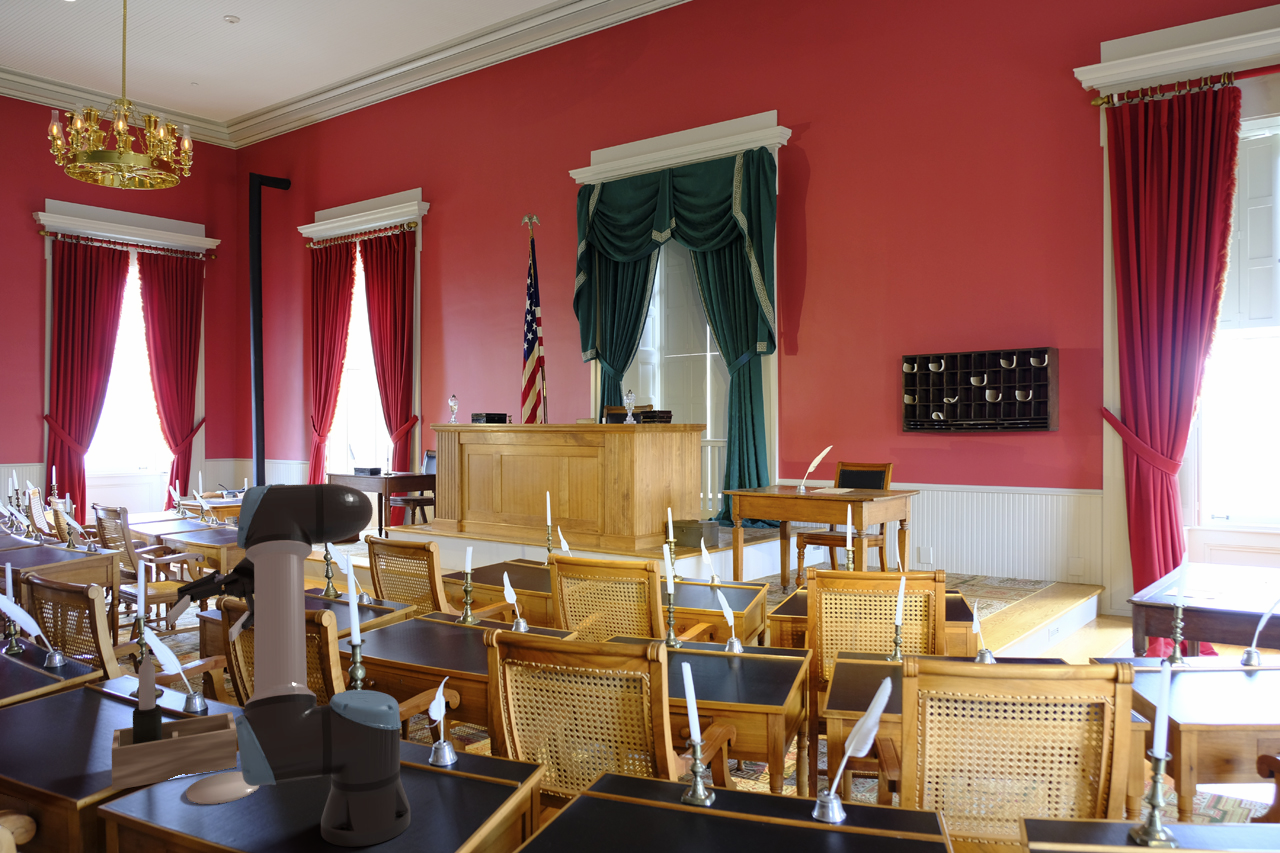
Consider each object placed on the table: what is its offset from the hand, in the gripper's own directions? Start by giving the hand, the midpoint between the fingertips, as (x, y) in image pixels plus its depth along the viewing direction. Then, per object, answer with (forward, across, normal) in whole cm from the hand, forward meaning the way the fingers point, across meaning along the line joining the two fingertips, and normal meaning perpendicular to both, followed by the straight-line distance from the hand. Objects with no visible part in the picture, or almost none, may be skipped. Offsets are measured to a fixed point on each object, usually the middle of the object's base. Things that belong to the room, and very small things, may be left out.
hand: (199, 627), depth 179 cm
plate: (+20, -18, -18) cm, 33 cm away
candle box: (+14, -2, -26) cm, 29 cm away
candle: (+17, +2, -26) cm, 31 cm away
